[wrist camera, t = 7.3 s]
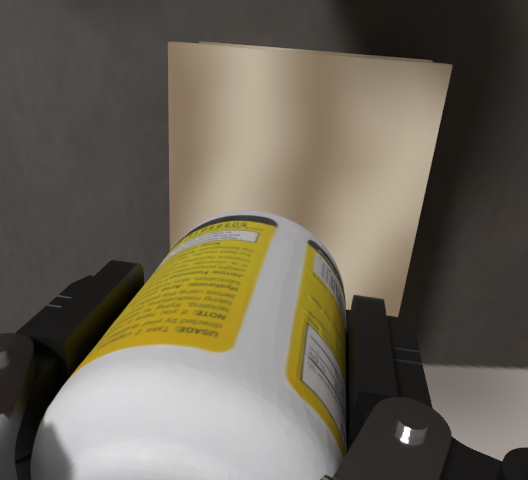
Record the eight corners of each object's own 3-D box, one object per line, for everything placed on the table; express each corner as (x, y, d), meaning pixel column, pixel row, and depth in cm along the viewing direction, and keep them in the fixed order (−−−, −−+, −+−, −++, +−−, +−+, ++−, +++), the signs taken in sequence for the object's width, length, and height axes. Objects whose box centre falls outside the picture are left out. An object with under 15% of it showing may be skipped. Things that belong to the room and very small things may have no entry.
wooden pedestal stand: (201, 240, 31) (170, 283, 25) (205, 41, 26) (167, 41, 20) (388, 265, 29) (397, 316, 24) (429, 59, 24) (452, 65, 19)
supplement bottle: (142, 310, 15) (-152, 701, 6) (217, 169, 13) (-73, 461, 4) (286, 392, 15) (207, 873, 6) (384, 269, 13) (466, 743, 4)
